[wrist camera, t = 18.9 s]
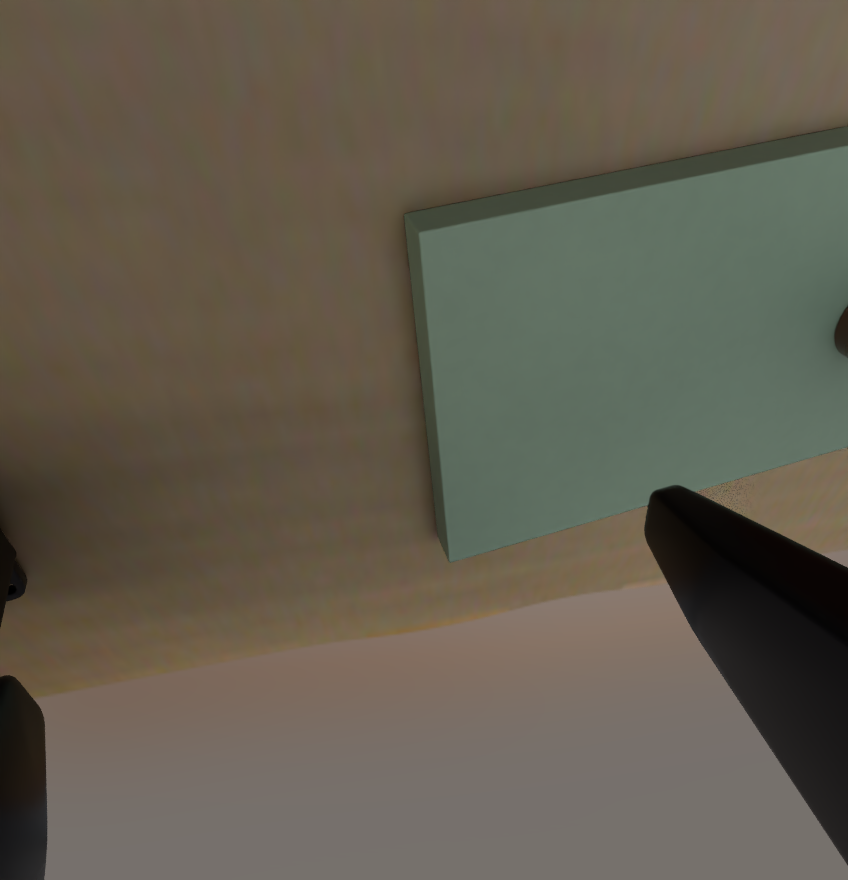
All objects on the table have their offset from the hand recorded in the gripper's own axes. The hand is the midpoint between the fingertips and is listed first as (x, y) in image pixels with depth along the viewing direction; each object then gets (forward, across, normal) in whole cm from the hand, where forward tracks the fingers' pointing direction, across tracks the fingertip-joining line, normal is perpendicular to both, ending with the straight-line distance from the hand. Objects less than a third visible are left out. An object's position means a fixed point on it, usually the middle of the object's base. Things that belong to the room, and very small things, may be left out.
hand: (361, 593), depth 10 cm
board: (+12, -15, +6) cm, 20 cm away
